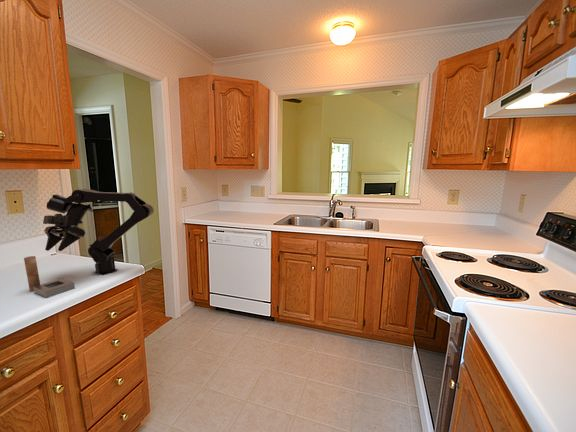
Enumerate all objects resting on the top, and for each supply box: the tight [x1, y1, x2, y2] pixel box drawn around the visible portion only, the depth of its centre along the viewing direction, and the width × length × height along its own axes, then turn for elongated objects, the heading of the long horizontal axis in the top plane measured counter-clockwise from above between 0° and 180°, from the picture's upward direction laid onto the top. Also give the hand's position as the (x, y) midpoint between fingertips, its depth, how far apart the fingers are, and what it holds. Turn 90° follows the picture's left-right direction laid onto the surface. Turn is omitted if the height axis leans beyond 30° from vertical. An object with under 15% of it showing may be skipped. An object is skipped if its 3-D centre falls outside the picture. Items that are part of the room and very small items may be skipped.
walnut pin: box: [23, 255, 41, 293], centre depth 104 cm, size 3×3×13 cm
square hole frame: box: [34, 277, 76, 299], centre depth 104 cm, size 9×9×2 cm
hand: (52, 250), depth 109 cm, fingers open, 9 cm apart
